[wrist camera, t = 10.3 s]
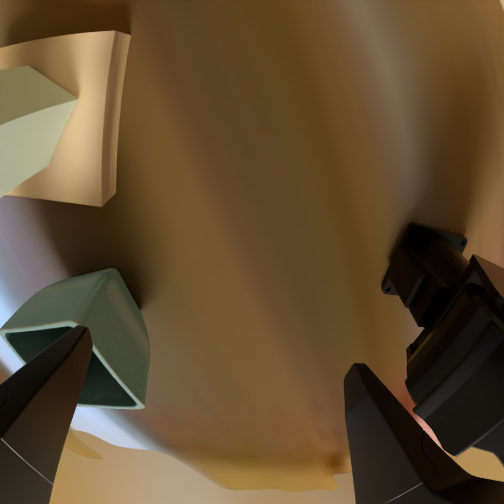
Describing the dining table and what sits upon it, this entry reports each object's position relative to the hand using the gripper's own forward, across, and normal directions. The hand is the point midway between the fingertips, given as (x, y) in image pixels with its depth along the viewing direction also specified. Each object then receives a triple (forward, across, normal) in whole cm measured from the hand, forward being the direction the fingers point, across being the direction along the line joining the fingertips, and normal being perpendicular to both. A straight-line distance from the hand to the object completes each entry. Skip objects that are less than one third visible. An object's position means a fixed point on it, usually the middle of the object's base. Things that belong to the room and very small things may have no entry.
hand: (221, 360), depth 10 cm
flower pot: (+13, +10, +10) cm, 19 cm away
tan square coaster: (+14, +14, -5) cm, 20 cm away
